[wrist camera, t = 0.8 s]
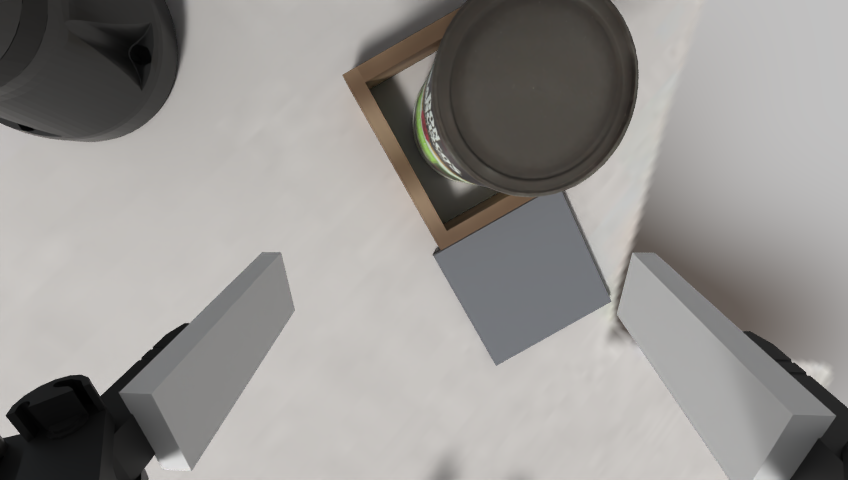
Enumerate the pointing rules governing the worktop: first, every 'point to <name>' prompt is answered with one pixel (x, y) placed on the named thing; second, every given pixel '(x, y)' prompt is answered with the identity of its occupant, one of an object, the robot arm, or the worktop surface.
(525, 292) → the rubber pad
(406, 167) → the walnut collar
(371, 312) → the worktop surface
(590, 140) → the coffee can
